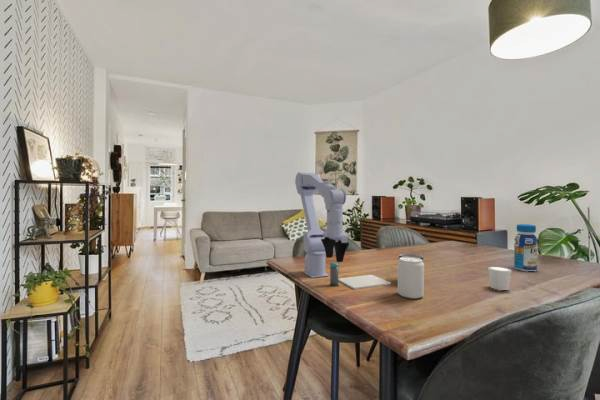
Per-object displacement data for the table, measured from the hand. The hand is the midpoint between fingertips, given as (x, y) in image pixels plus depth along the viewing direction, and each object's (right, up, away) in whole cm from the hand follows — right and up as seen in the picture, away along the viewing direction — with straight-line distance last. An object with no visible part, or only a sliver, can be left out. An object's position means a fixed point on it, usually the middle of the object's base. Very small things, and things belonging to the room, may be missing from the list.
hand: (334, 259), depth 108 cm
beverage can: (+24, -10, -10) cm, 28 cm away
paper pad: (+11, -9, +4) cm, 15 cm away
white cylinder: (+59, -10, -3) cm, 59 cm away
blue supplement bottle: (+88, -9, +24) cm, 91 cm away
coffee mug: (+30, -10, +6) cm, 32 cm away
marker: (0, -9, 0) cm, 9 cm away
